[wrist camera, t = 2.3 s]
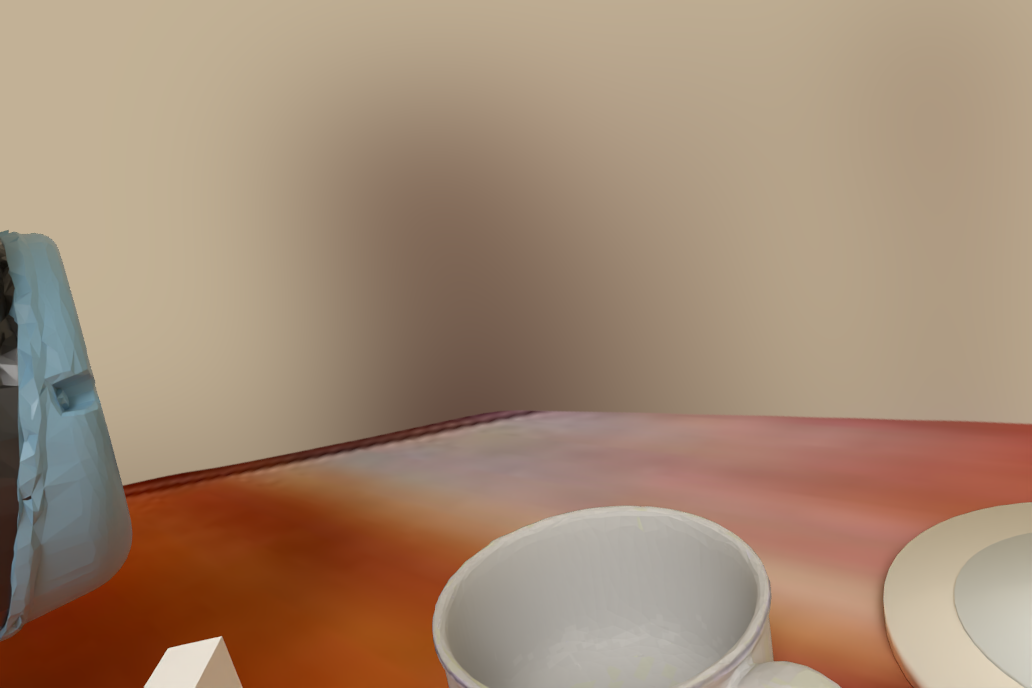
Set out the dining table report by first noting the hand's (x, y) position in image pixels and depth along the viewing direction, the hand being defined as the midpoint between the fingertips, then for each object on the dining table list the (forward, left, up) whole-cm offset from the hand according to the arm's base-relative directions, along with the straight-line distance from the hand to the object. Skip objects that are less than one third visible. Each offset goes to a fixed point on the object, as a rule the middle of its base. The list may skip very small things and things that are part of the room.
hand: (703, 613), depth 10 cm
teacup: (-4, +9, -16) cm, 19 cm away
